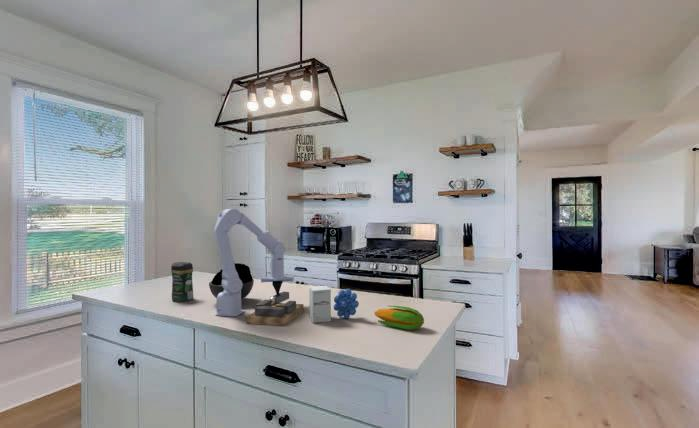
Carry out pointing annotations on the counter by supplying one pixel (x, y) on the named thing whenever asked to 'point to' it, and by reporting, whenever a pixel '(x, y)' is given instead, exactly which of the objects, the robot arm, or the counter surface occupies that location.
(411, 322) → the corn
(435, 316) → the counter surface
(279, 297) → the hinged leg
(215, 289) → the coal bowl
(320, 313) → the supplement box
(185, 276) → the coffee jar
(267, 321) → the wooden board with bars
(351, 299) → the grapes
